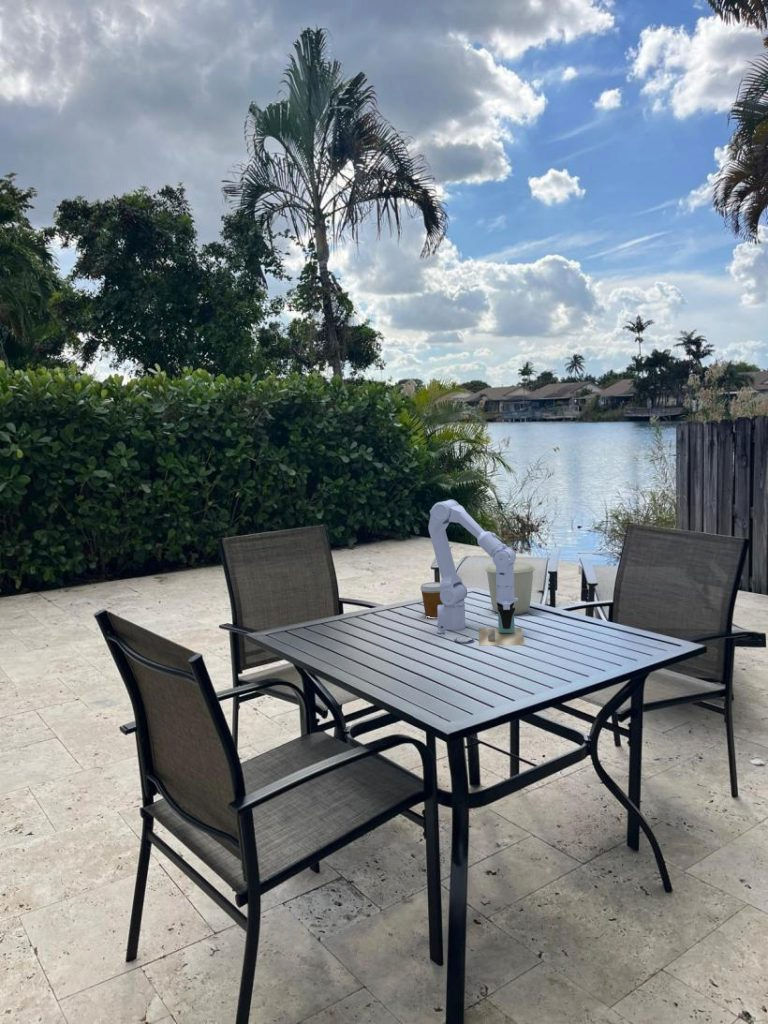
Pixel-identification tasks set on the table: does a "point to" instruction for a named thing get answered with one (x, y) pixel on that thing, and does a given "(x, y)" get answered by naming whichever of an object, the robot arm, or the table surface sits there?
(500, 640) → the base board
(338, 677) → the table surface
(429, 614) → the disposable coffee cup
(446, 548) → the robot arm
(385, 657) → the table surface
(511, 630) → the housing
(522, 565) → the canister
